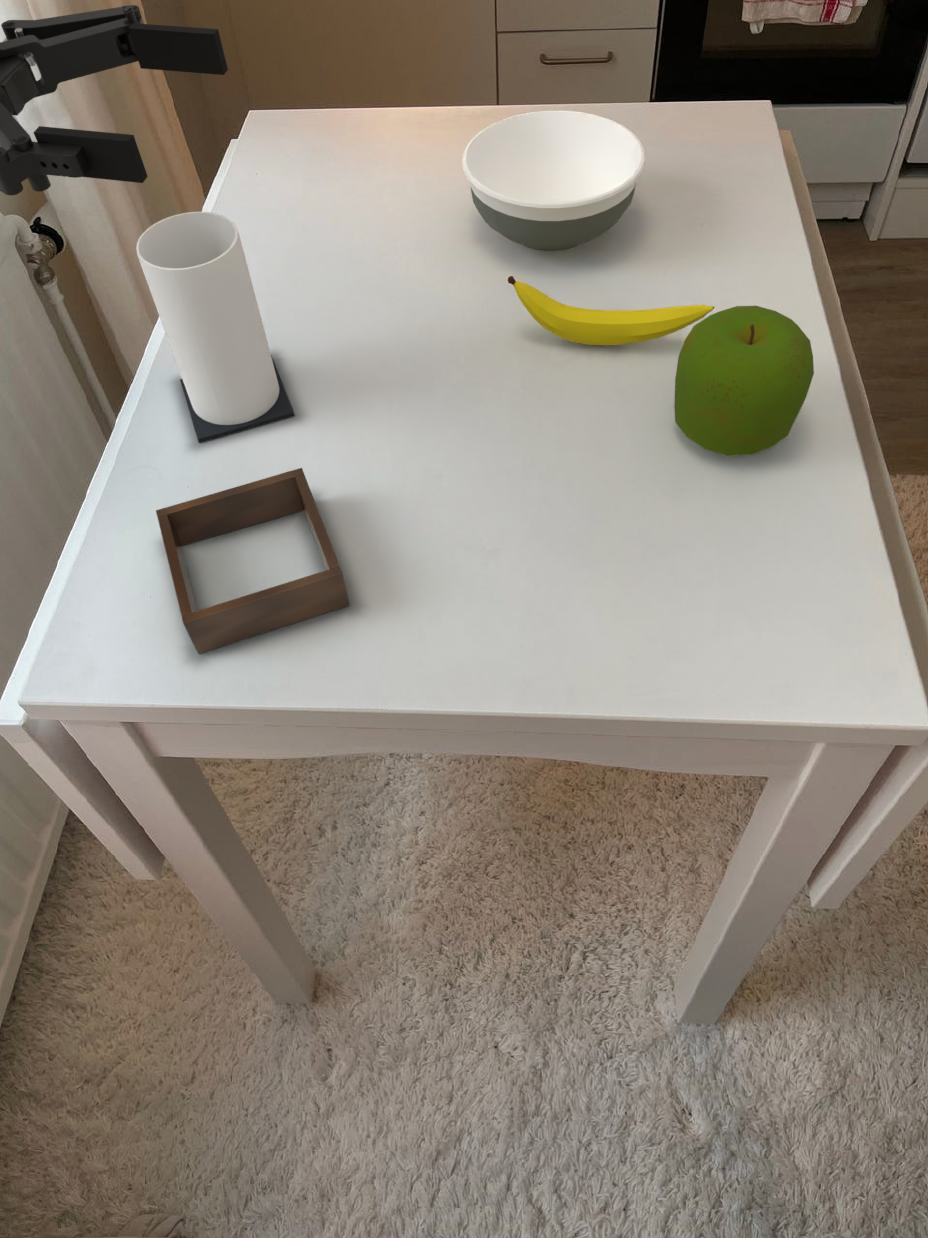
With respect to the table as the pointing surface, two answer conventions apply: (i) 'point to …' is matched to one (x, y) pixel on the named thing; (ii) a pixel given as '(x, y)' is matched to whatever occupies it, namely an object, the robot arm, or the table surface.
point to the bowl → (553, 176)
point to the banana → (605, 319)
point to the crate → (264, 606)
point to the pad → (213, 431)
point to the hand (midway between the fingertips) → (182, 102)
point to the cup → (210, 315)
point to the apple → (742, 380)
